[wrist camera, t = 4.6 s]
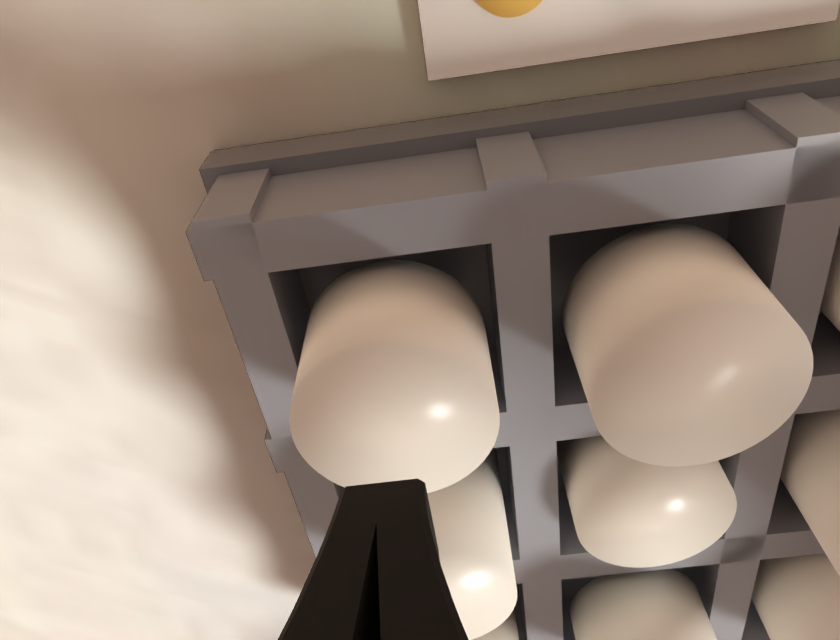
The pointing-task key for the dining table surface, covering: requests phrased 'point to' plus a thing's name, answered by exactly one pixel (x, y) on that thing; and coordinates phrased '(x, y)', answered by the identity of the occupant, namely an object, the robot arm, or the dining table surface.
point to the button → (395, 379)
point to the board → (563, 284)
